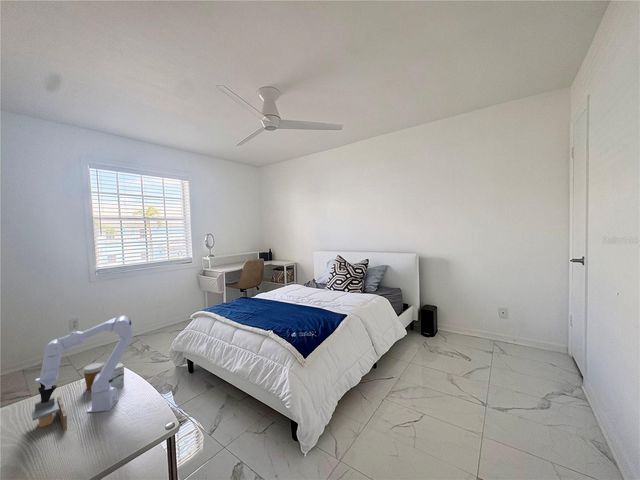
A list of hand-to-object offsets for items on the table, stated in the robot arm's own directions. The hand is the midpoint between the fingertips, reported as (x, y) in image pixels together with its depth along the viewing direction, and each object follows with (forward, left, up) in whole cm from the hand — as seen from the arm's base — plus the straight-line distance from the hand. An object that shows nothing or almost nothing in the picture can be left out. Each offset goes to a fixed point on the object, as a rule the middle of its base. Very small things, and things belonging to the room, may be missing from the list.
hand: (44, 398), depth 117 cm
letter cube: (-1, +1, -11) cm, 11 cm away
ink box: (-14, -24, -11) cm, 30 cm away
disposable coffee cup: (-3, -26, -11) cm, 29 cm away
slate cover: (-1, +1, -6) cm, 6 cm away
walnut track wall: (-6, -1, -11) cm, 13 cm away
